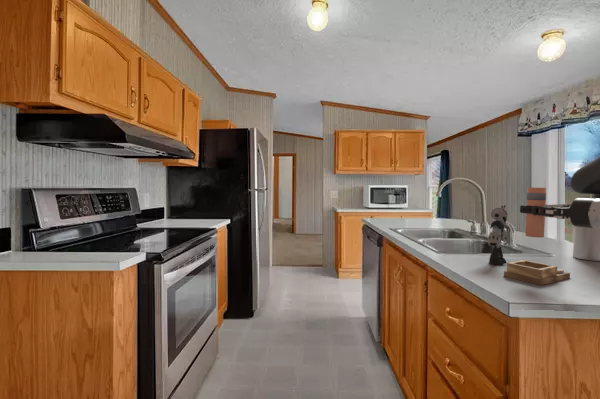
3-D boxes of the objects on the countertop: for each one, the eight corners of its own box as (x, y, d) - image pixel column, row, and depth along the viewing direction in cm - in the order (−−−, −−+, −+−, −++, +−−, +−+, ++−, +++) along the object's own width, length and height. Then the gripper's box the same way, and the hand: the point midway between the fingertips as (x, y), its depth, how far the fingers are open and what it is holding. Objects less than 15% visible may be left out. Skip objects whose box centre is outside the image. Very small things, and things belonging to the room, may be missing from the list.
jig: (533, 270, 110) (533, 257, 110) (569, 277, 101) (570, 264, 101) (503, 276, 102) (504, 262, 102) (540, 285, 94) (541, 270, 93)
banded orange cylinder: (530, 234, 102) (532, 187, 102) (547, 236, 99) (549, 187, 98) (522, 235, 100) (524, 187, 100) (539, 237, 96) (541, 187, 96)
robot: (496, 257, 128) (498, 203, 127) (511, 259, 125) (513, 204, 124) (481, 266, 113) (484, 206, 112) (498, 269, 110) (501, 206, 109)
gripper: (610, 198, 90) (538, 195, 105) (585, 198, 83) (512, 196, 98) (609, 227, 90) (537, 220, 105) (583, 230, 83) (511, 222, 98)
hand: (525, 208), depth 101 cm, fingers closed on banded orange cylinder, 4 cm apart
